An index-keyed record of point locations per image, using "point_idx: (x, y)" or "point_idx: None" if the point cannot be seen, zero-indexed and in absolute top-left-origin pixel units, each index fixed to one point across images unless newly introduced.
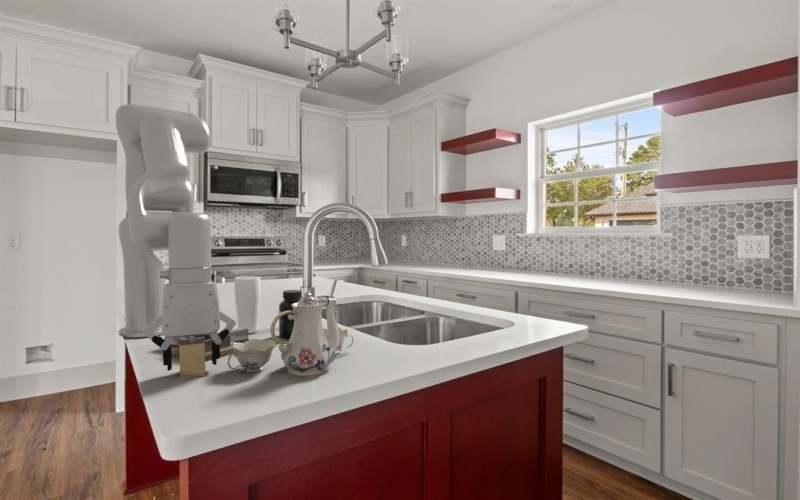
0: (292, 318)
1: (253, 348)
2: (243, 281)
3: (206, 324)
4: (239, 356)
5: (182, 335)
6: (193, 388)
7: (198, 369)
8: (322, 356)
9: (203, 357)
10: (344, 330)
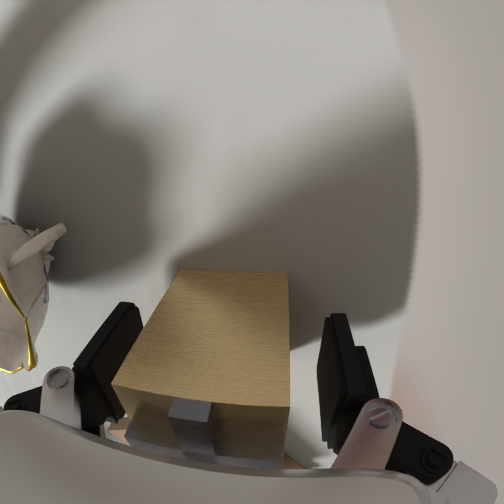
0: None
1: (13, 338)
2: None
3: (22, 483)
4: (9, 249)
5: (255, 476)
6: (227, 102)
7: (200, 288)
8: None
9: (155, 320)
10: None
